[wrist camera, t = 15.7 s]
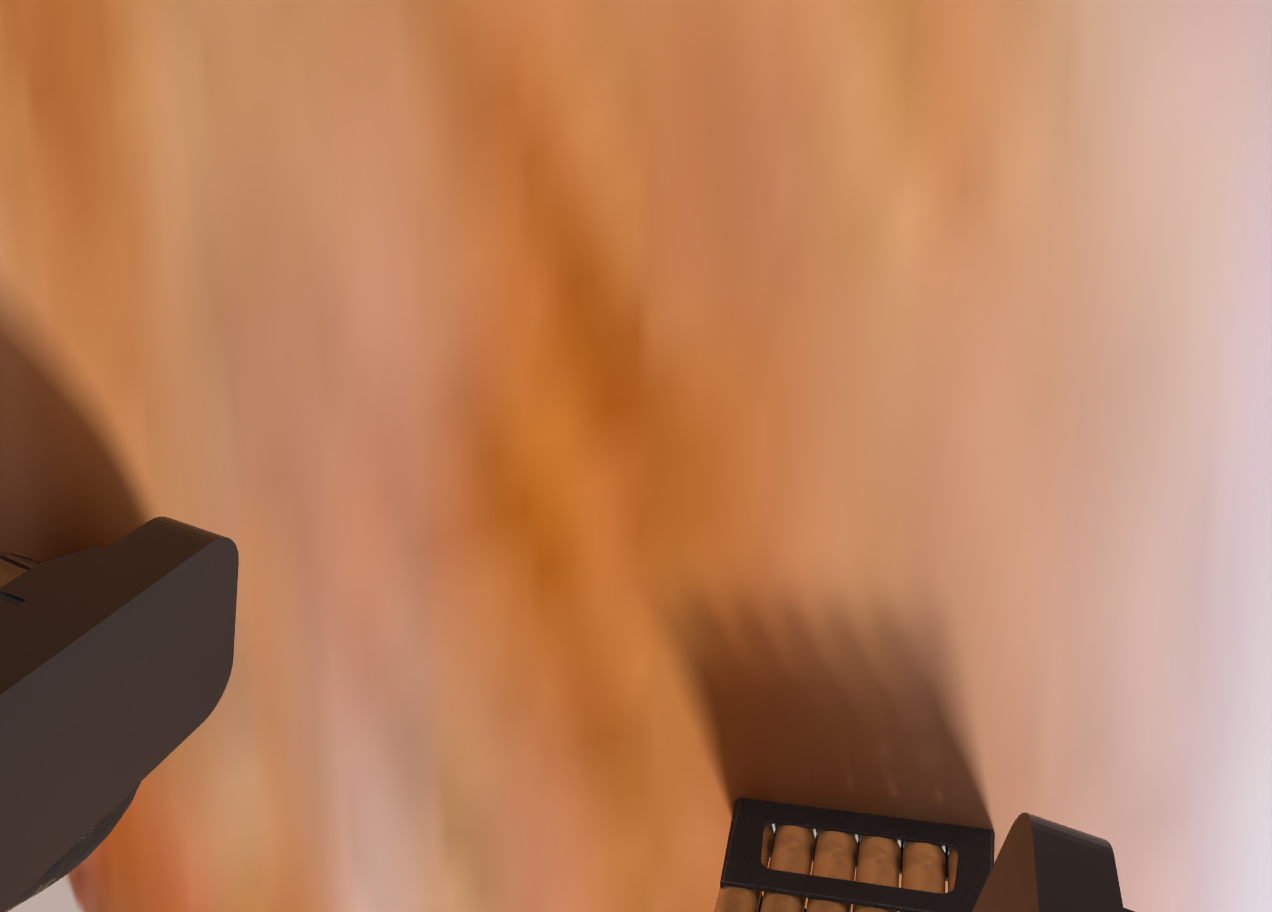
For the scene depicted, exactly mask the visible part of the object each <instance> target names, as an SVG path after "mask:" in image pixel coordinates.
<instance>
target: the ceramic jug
mask: <svg viewBox="0 0 1272 912" xmlns="http://www.w3.org/2000/svg"><path fill="white" fill-rule="evenodd" d="M40 563H41V561H37V560H33V559H30V558H26V557H22V556H18V555H14V554H9V553H2V552H0V587H2V586H4V585H5V584H7V583H9V582H10V581H12V580H14V579H15V578H17V577H18V576H20V575H22V574H23V573H25V572H27V571H28V570H30V569H31V568H33V567H35V566H36V565H38V564H40ZM140 783H141V782H140ZM140 783H139V784H138V785H137V786H136V787H135V788H133V789H132V790H131V791H130V792H129V793H128V794H127V795H126V796H125V797H124V798H123V799H122V800H121V801H120V802H119V803H118V804H117V805H116V806H115V807H114V808H112V809H111V810H110V811H109V812H108V813H107V814H106V815H105V816H104V817H103V818H102V819H101V820H100V821H99V822H98V823H97V824H96V825H95V826H94V827H93V828H92V829H90V830H89V831H88V832H87V833H86V834H85V835H84V836H83V837H82V838H81V839H80V840H79V841H78V842H77V843H76V844H75V845H74V846H73V847H72V848H71V849H69V850H68V851H67V852H66V853H65V854H64V855H63V856H62V857H61V858H60V859H59V860H58V861H57V862H56V863H55V864H54V865H53V866H52V867H51V868H50V869H49V870H47V871H46V872H45V873H44V874H43V875H42V876H41V877H40V878H39V879H38V880H37V881H36V882H35V883H34V884H33V885H32V886H31V887H30V888H29V889H28V890H26V891H25V892H24V893H23V894H22V895H21V896H20V897H19V898H18V899H17V900H16V901H15V902H14V903H13V904H12V905H11V906H10V907H9V908H8V909H7V910H6V911H4V912H7V911H9V910H11V909H12V908H14V907H16V906H17V905H19V904H21V903H22V902H24V901H26V900H27V899H29V898H31V897H32V896H34V895H36V894H38V893H39V892H41V891H43V890H44V889H46V888H47V887H49V886H50V885H52V884H53V883H55V882H56V881H58V880H59V879H61V878H62V877H64V876H65V875H67V874H68V873H69V872H71V871H72V870H73V869H74V868H75V867H76V866H78V865H79V864H80V863H81V862H82V861H84V860H85V859H86V858H87V857H88V856H89V855H90V854H91V853H92V852H93V851H94V850H95V849H96V848H97V847H98V845H99V844H100V843H101V842H102V841H103V840H104V839H105V838H106V837H107V836H108V835H109V834H110V832H111V831H112V830H113V828H114V827H115V825H116V824H117V823H118V821H119V820H120V818H121V817H122V815H123V814H124V813H125V811H126V810H127V809H128V807H129V805H130V804H131V802H132V800H133V798H134V796H135V793H136V791H137V789H138V787H139V785H140Z"/></svg>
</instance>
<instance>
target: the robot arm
mask: <svg viewBox="0 0 1272 912" xmlns="http://www.w3.org/2000/svg"><path fill="white" fill-rule="evenodd" d="M237 580H238V550H237V547H236V545H235V543H234V542H233V541H232V540H231V539H229V538H226V537H223V536H220V535H218V534H215V533H212V532H209V531H206V530H203V529H200V528H197V527H194V526H191V525H188V524H185V523H182V522H179V521H177V520H174V519H171V518H167V517H157V518H154V519H152V520H150V521H148V522H147V523H145V524H144V525H142V526H141V527H139V528H137V529H136V530H134V531H133V532H131V533H130V534H128V535H127V536H125V537H123V538H122V539H120V540H119V541H117V542H116V543H114V544H113V545H111V546H110V547H108V548H106V549H105V548H102V547H99V546H94V547H90V548H87V549H84V550H81V551H77V552H74V553H71V554H68V555H64V556H61V557H58V558H55V559H51V560H48V561H45V562H41V563H40V564H38V565H36V566H35V567H33V568H31V569H30V570H28V571H27V572H25V573H23V574H22V575H20V576H18V577H17V578H15V579H14V580H12V581H10V582H9V583H7V584H5V585H4V586H2V587H0V912H4V911H6V910H7V909H8V908H9V907H10V906H11V905H12V904H13V903H14V902H15V901H16V900H17V899H18V898H19V897H20V896H21V895H22V894H23V893H24V892H25V891H26V890H28V889H29V888H30V887H31V886H32V885H33V884H34V883H35V882H36V881H37V880H38V879H39V878H40V877H41V876H42V875H43V874H44V873H45V872H46V871H47V870H49V869H50V868H51V867H52V866H53V865H54V864H55V863H56V862H57V861H58V860H59V859H60V858H61V857H62V856H63V855H64V854H65V853H66V852H67V851H68V850H69V849H71V848H72V847H73V846H74V845H75V844H76V843H77V842H78V841H79V840H80V839H81V838H82V837H83V836H84V835H85V834H86V833H87V832H88V831H89V830H90V829H92V828H93V827H94V826H95V825H96V824H97V823H98V822H99V821H100V820H101V819H102V818H103V817H104V816H105V815H106V814H107V813H108V812H109V811H110V810H111V809H112V808H114V807H115V806H116V805H117V804H118V803H119V802H120V801H121V800H122V799H123V798H124V797H125V796H126V795H127V794H128V793H129V792H130V791H131V790H132V789H133V788H135V787H136V786H137V785H138V784H139V783H140V782H141V781H142V780H143V779H144V778H145V777H146V776H147V775H148V774H149V773H150V772H151V771H152V770H153V769H154V768H156V767H157V766H158V765H159V764H160V763H161V762H162V761H163V760H164V759H165V758H166V757H167V756H168V755H169V754H170V753H171V752H172V751H173V750H174V749H175V748H176V747H178V746H179V745H180V744H181V743H182V742H183V741H184V740H185V739H186V738H187V737H188V736H189V735H190V734H191V733H192V732H193V731H194V730H195V729H196V728H197V727H199V726H200V725H201V724H202V723H203V722H204V721H205V720H206V718H207V717H208V716H209V715H210V714H211V712H212V711H213V710H214V708H215V707H216V705H217V704H218V702H219V700H220V698H221V696H222V694H223V692H224V690H225V688H226V685H227V683H228V680H229V677H230V674H231V669H232V664H233V653H234V635H235V617H236V598H237ZM972 912H1134V911H1131V910H1129V909H1126V908H1123V904H1122V898H1121V892H1120V887H1119V881H1118V875H1117V870H1116V864H1115V858H1114V853H1113V849H1112V847H1111V845H1110V843H1109V842H1108V841H1107V840H1104V839H1101V838H1098V837H1095V836H1092V835H1090V834H1087V833H1084V832H1081V831H1078V830H1075V829H1072V828H1069V827H1066V826H1063V825H1060V824H1057V823H1054V822H1051V821H1049V820H1046V819H1043V818H1040V817H1037V816H1034V815H1031V814H1028V813H1022V814H1021V815H1019V817H1018V818H1017V819H1016V820H1015V822H1014V823H1013V825H1012V827H1011V829H1010V831H1009V833H1008V835H1007V837H1006V840H1005V842H1004V844H1003V846H1002V848H1001V850H1000V853H999V855H998V857H997V859H996V861H995V863H994V865H993V868H992V870H991V872H990V874H989V876H988V878H987V881H986V883H985V885H984V887H983V889H982V891H981V893H980V896H979V898H978V900H977V902H976V904H975V906H974V908H973V911H972Z"/></svg>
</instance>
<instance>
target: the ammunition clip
mask: <svg viewBox="0 0 1272 912" xmlns="http://www.w3.org/2000/svg"><path fill="white" fill-rule="evenodd" d="M994 838H995V833H994V832H993V831H992V830H989V829H981V828H973V827H966V826H958V825H950V824H942V823H934V822H926V821H918V820H911V819H903V818H895V817H887V816H879V815H871V814H863V813H856V812H848V811H840V810H832V809H824V808H816V807H808V806H801V805H793V804H785V803H777V802H769V801H761V800H753V799H745V798H740V799H738V800H736V801H735V805H734V810H733V816H732V821H731V827H730V832H729V838H728V843H727V849H726V854H725V859H724V865H723V870H722V876H721V881H720V890H719V894H718V898H717V902H716V907H715V911H714V912H850V910H851V904H853V912H897V911H900V912H972V911H973V908H974V906H975V904H976V902H977V900H978V898H979V896H980V893H981V891H982V889H983V887H984V885H985V883H986V881H987V878H988V876H989V874H990V872H991V870H992V868H993V865H994ZM769 857H771V859H770V864H769V868H767V866H768V862H769ZM812 862H813V869H812V875H810V872H811V865H812ZM855 868H857V870H856V881H854V875H855ZM899 874H902V883H901V888H898V887H899ZM945 881H948V893H945ZM762 891H764V895H763V897H762ZM806 898H808V903H807V909H805V902H806Z"/></svg>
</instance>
